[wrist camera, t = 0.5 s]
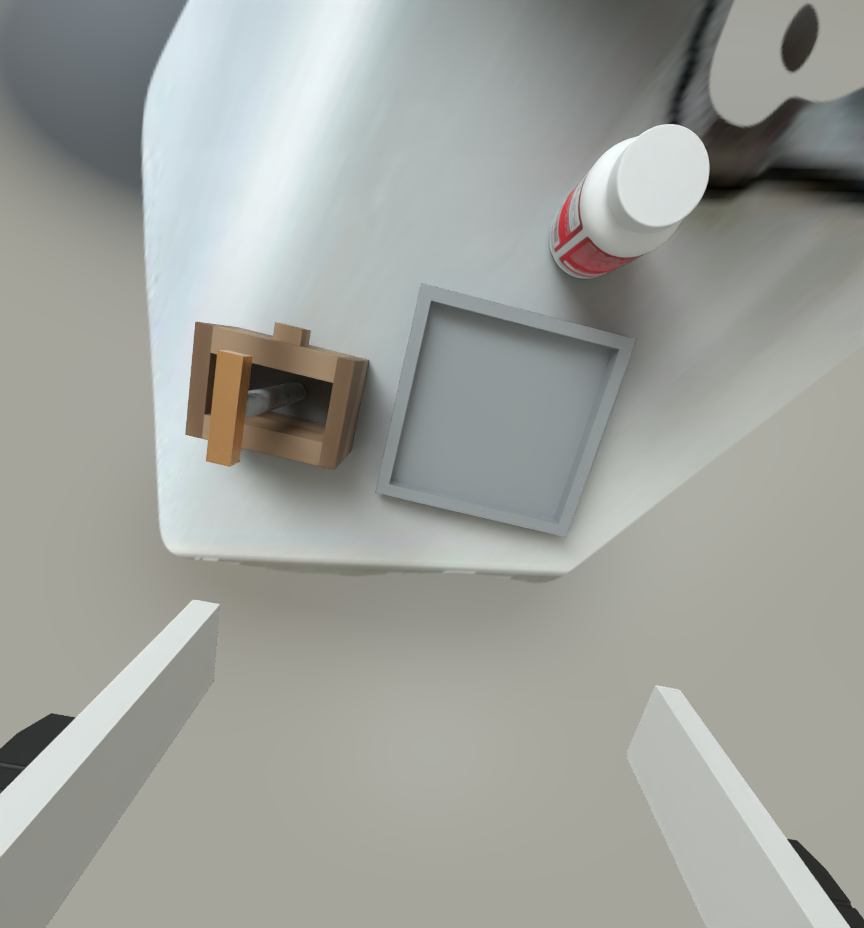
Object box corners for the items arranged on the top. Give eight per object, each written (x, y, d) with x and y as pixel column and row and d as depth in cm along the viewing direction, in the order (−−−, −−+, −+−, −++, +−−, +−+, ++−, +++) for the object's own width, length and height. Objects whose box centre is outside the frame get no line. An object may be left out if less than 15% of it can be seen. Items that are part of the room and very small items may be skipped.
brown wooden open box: (226, 421, 36) (185, 434, 30) (238, 312, 33) (197, 303, 28) (350, 451, 36) (334, 469, 30) (371, 345, 34) (358, 343, 28)
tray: (422, 287, 33) (421, 283, 31) (625, 340, 34) (636, 339, 32) (378, 485, 37) (375, 492, 35) (559, 527, 38) (565, 537, 36)
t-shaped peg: (292, 351, 34) (215, 349, 22) (311, 356, 34) (245, 356, 22) (281, 425, 36) (204, 460, 24) (299, 429, 36) (231, 467, 24)
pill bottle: (640, 253, 32) (742, 202, 21) (567, 295, 33) (631, 266, 22) (608, 173, 31) (700, 76, 20) (533, 219, 31) (582, 150, 21)
